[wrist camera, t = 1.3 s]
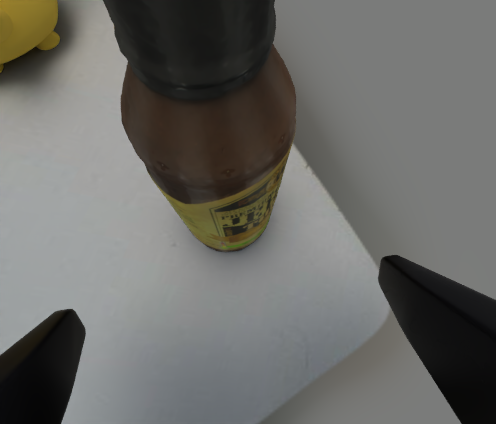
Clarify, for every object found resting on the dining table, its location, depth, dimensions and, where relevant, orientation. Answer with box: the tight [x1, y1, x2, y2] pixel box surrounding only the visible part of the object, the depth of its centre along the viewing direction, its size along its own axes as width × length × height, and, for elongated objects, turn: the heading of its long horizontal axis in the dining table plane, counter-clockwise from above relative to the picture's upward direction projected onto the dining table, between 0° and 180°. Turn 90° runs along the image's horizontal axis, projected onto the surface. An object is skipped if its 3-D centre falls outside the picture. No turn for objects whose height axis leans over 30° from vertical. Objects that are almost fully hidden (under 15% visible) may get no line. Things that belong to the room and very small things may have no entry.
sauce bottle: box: [103, 0, 296, 252], centre depth 12 cm, size 6×6×20 cm
